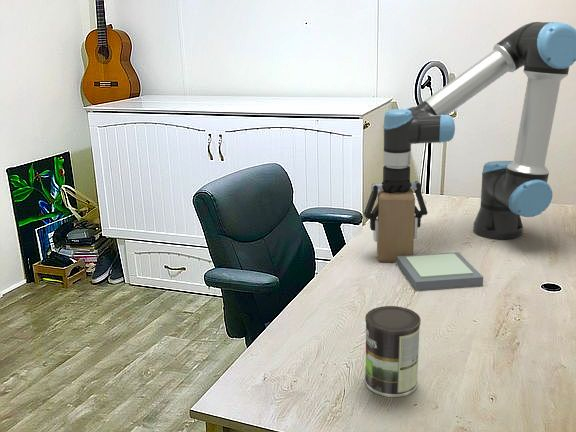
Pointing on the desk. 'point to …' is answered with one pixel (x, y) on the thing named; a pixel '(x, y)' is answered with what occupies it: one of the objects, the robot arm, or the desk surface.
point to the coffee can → (392, 351)
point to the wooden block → (395, 225)
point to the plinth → (439, 271)
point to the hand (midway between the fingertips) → (394, 239)
